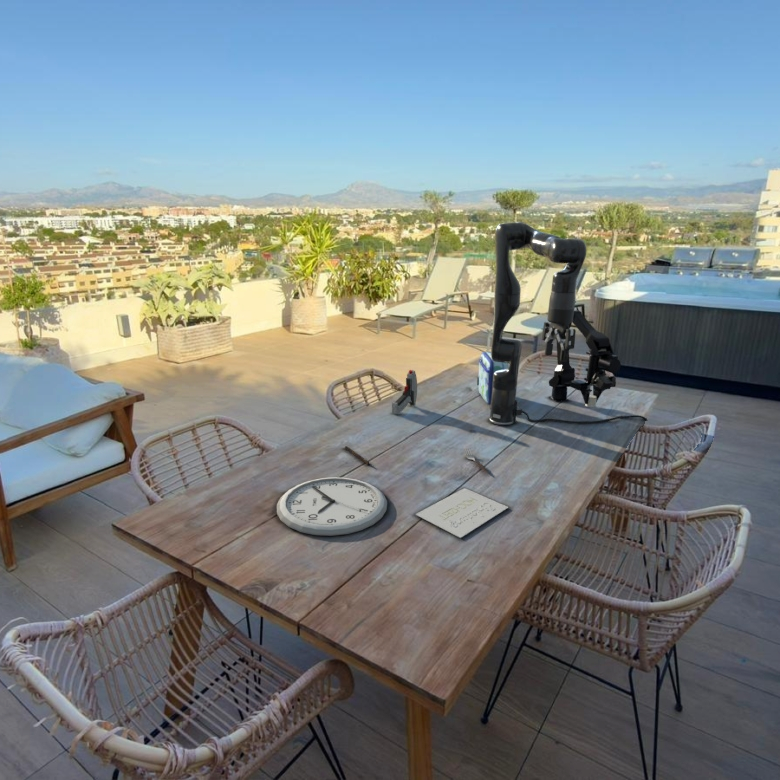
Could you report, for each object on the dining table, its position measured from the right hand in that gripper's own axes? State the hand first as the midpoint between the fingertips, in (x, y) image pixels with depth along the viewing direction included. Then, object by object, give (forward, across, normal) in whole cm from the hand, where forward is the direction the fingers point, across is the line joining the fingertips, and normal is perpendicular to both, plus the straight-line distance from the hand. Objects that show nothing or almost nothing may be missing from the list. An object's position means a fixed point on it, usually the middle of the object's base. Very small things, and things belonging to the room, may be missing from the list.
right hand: (590, 403), depth 216 cm
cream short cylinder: (+1, 0, 0) cm, 1 cm away
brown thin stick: (+4, -104, -10) cm, 105 cm away
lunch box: (+5, -29, +29) cm, 41 cm away
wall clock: (+4, -120, -38) cm, 126 cm away
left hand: (-30, -45, -30) cm, 62 cm away
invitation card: (+4, -87, -53) cm, 102 cm away
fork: (+4, -69, -28) cm, 75 cm away
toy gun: (+5, -72, +28) cm, 77 cm away
